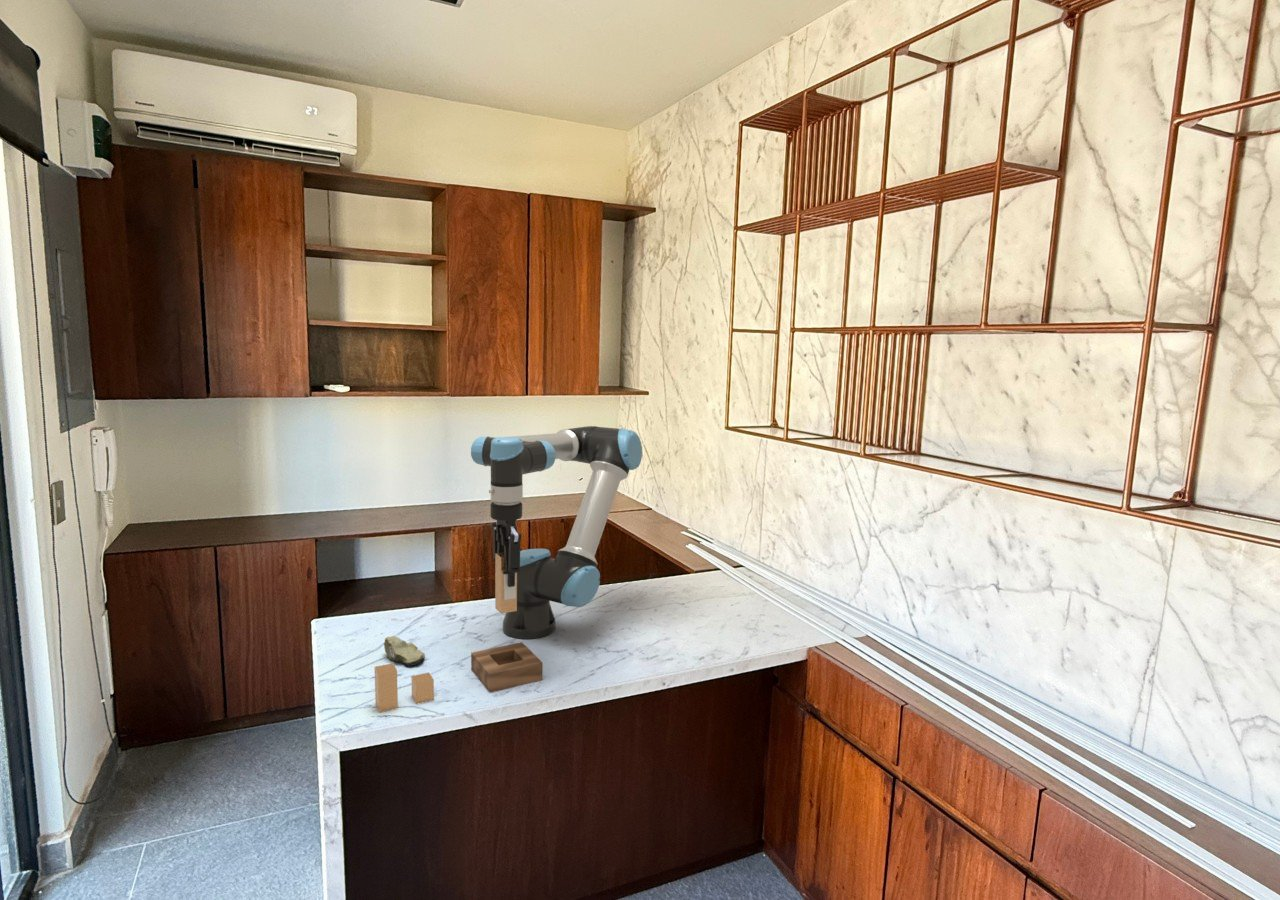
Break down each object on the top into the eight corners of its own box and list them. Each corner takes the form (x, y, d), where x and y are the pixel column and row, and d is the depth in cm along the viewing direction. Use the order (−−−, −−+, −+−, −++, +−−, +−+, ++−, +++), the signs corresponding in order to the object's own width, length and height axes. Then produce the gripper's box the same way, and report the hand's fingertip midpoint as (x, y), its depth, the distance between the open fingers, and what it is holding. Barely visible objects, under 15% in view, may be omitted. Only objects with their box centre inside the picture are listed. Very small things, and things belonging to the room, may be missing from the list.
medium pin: (375, 704, 156) (374, 666, 155) (393, 700, 158) (393, 663, 157) (379, 712, 153) (378, 674, 152) (397, 708, 155) (397, 670, 154)
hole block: (471, 669, 175) (471, 652, 174) (521, 658, 182) (521, 642, 181) (489, 692, 163) (489, 674, 163) (542, 679, 170) (542, 662, 170)
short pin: (411, 696, 160) (411, 676, 160) (429, 692, 163) (428, 672, 162) (416, 704, 157) (415, 683, 156) (433, 699, 159) (433, 679, 158)
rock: (423, 671, 175) (428, 649, 185) (421, 649, 174) (426, 628, 183) (378, 674, 174) (385, 651, 183) (376, 652, 172) (384, 630, 181)
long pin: (495, 608, 171) (495, 553, 169) (510, 605, 173) (511, 551, 171) (501, 613, 167) (501, 557, 165) (516, 610, 169) (517, 555, 167)
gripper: (479, 496, 171) (479, 587, 175) (504, 510, 157) (503, 609, 160) (508, 493, 175) (508, 582, 179) (535, 507, 161) (534, 604, 164)
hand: (506, 595), depth 169 cm, fingers closed on long pin, 4 cm apart
